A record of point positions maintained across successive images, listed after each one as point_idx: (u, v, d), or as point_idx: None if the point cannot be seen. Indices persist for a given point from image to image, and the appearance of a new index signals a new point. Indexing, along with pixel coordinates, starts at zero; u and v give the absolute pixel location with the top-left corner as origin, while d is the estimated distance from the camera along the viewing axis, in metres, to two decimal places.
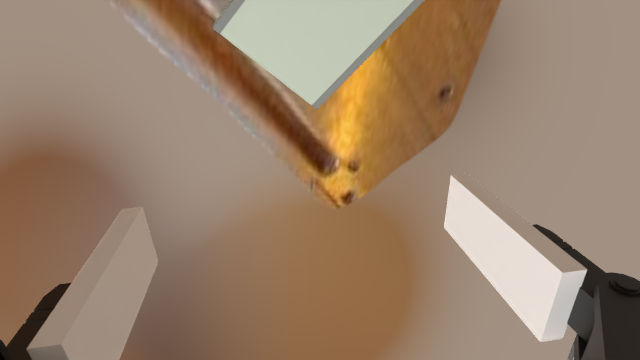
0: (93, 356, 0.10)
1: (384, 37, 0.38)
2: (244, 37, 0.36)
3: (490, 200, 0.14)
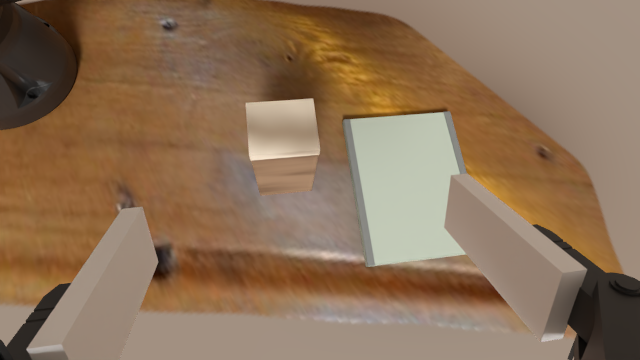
0: (93, 356, 0.10)
1: (461, 164, 0.44)
2: (390, 251, 0.40)
3: (490, 200, 0.14)
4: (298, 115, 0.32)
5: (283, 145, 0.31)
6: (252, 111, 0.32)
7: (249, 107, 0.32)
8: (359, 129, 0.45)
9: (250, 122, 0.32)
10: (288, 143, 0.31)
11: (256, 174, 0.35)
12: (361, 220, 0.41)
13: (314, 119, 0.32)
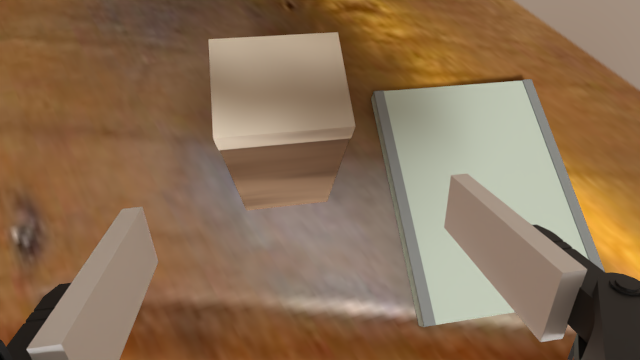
0: (93, 356, 0.10)
1: (557, 157, 0.29)
2: (459, 301, 0.25)
3: (490, 200, 0.14)
4: (311, 63, 0.17)
5: (282, 118, 0.16)
6: (221, 54, 0.16)
7: (215, 47, 0.17)
8: (398, 106, 0.29)
9: (217, 75, 0.16)
10: (292, 115, 0.16)
11: (234, 177, 0.20)
12: (409, 249, 0.25)
13: (341, 69, 0.17)
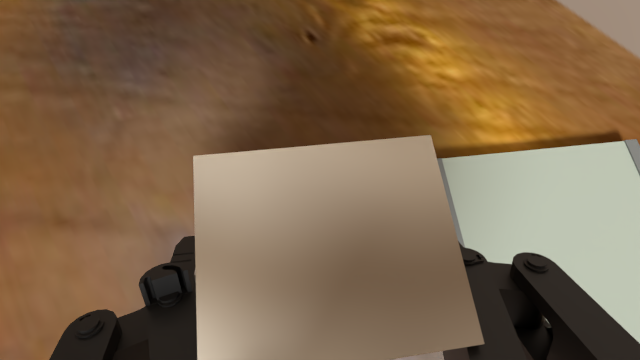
0: None
1: None
2: None
3: None
4: (386, 200, 0.09)
5: (339, 333, 0.08)
6: (217, 188, 0.09)
7: (206, 173, 0.09)
8: (463, 180, 0.21)
9: (208, 233, 0.08)
10: (357, 324, 0.08)
11: None
12: None
13: (445, 214, 0.09)
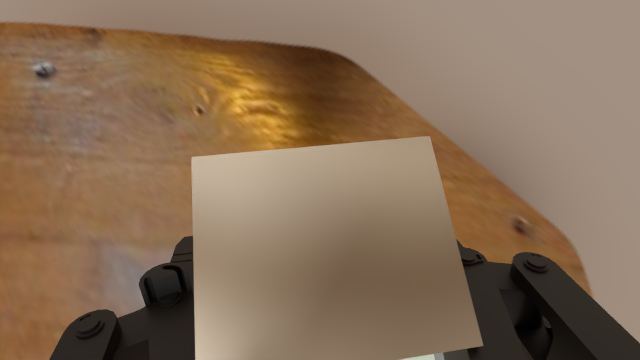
0: None
1: None
2: None
3: None
4: (385, 202, 0.09)
5: (337, 335, 0.08)
6: (215, 190, 0.09)
7: (205, 174, 0.09)
8: None
9: (207, 235, 0.08)
10: (356, 326, 0.08)
11: None
12: None
13: (444, 215, 0.09)
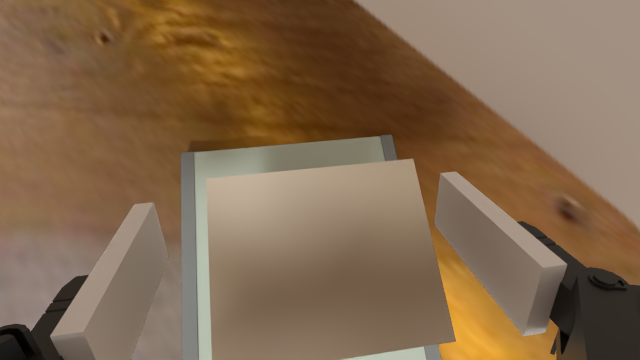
0: (111, 345, 0.10)
1: None
2: None
3: (477, 197, 0.14)
4: (373, 217, 0.10)
5: (332, 331, 0.09)
6: (227, 207, 0.10)
7: (218, 193, 0.10)
8: (210, 172, 0.23)
9: (220, 246, 0.10)
10: (347, 324, 0.09)
11: None
12: None
13: (424, 229, 0.10)
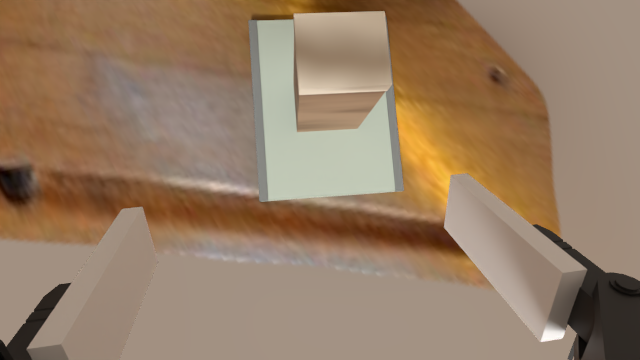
0: (93, 356, 0.10)
1: None
2: (288, 186, 0.35)
3: (490, 200, 0.14)
4: (364, 35, 0.24)
5: (344, 77, 0.24)
6: (303, 26, 0.24)
7: (298, 20, 0.24)
8: (267, 34, 0.36)
9: (300, 42, 0.24)
10: (350, 74, 0.24)
11: (300, 110, 0.28)
12: (257, 148, 0.35)
13: (385, 41, 0.24)
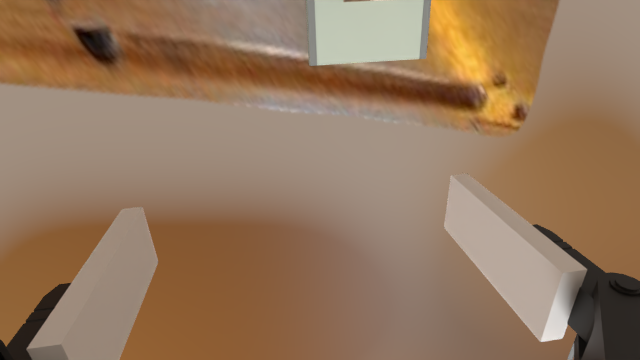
0: (93, 356, 0.10)
1: None
2: (333, 53, 0.42)
3: (490, 200, 0.14)
4: None
5: None
6: None
7: None
8: None
9: None
10: None
11: None
12: (309, 17, 0.39)
13: None
